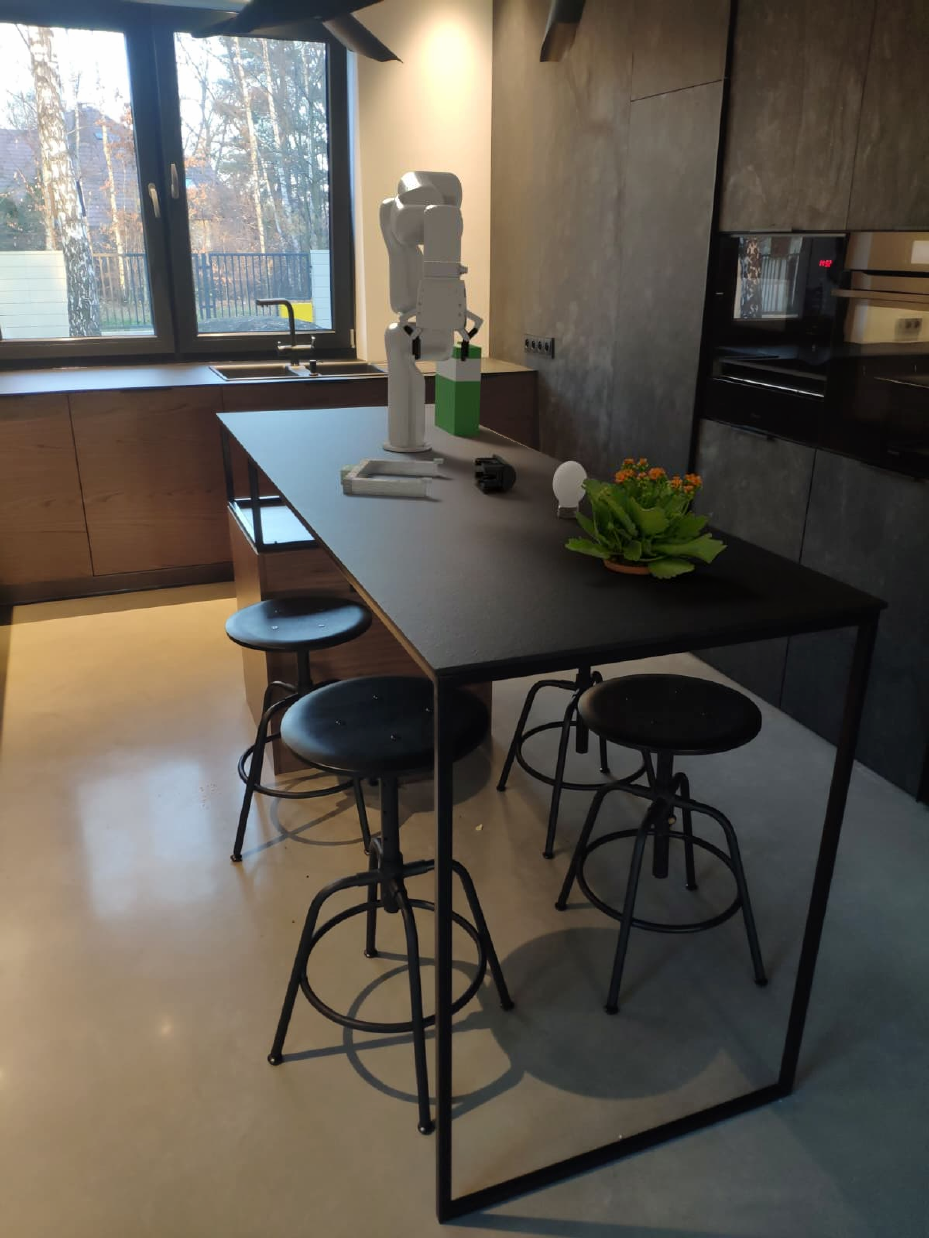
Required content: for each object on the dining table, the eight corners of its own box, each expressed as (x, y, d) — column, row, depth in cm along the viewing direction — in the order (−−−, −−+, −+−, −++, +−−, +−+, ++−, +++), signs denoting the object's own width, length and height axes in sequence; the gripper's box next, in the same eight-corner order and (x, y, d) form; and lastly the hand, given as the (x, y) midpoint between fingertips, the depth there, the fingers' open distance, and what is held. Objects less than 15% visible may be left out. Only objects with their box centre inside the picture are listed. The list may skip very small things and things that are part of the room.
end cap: (516, 494, 204) (517, 463, 201) (484, 495, 202) (485, 464, 200) (504, 483, 213) (505, 453, 210) (473, 484, 211) (474, 454, 209)
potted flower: (586, 594, 145) (595, 482, 139) (533, 549, 166) (539, 450, 160) (730, 583, 152) (745, 476, 145) (661, 541, 173) (671, 446, 167)
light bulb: (557, 521, 184) (561, 465, 180) (546, 512, 190) (549, 458, 186) (590, 519, 185) (594, 464, 181) (577, 511, 191) (581, 457, 187)
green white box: (434, 425, 280) (436, 341, 272) (458, 424, 283) (460, 341, 274) (454, 436, 265) (456, 347, 256) (478, 435, 267) (481, 347, 259)
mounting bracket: (353, 470, 220) (353, 454, 219) (443, 474, 219) (443, 458, 217) (331, 492, 200) (331, 474, 199) (430, 497, 198) (430, 480, 197)
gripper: (486, 273, 192) (483, 360, 198) (403, 271, 194) (402, 357, 200) (482, 273, 185) (479, 363, 191) (395, 271, 187) (395, 360, 193)
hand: (440, 360), depth 195 cm, fingers open, 9 cm apart
